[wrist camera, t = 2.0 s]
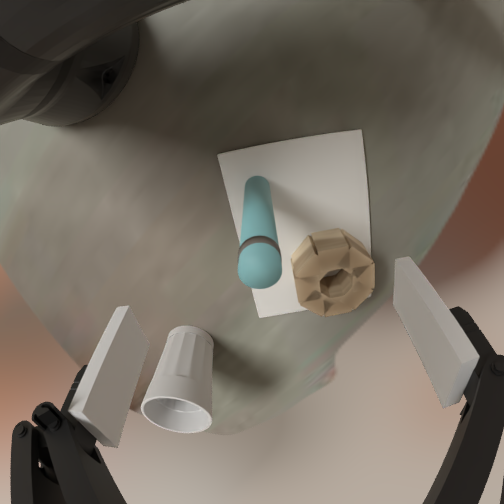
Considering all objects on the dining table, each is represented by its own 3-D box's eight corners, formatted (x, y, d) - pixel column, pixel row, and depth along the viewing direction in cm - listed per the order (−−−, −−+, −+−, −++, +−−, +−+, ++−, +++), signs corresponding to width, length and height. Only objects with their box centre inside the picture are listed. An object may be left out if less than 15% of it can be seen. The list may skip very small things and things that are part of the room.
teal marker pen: (241, 177, 30) (231, 255, 17) (267, 172, 30) (279, 246, 16) (247, 201, 31) (242, 293, 18) (272, 196, 31) (286, 285, 18)
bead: (286, 237, 33) (290, 256, 29) (362, 223, 32) (374, 240, 29) (297, 299, 37) (301, 321, 33) (364, 285, 36) (374, 306, 32)
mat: (217, 154, 29) (217, 154, 29) (360, 129, 28) (361, 129, 27) (259, 315, 39) (259, 317, 38) (370, 295, 37) (371, 296, 37)
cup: (211, 317, 39) (200, 395, 28) (225, 359, 43) (219, 432, 32) (153, 323, 39) (129, 395, 29) (172, 363, 43) (157, 432, 33)
